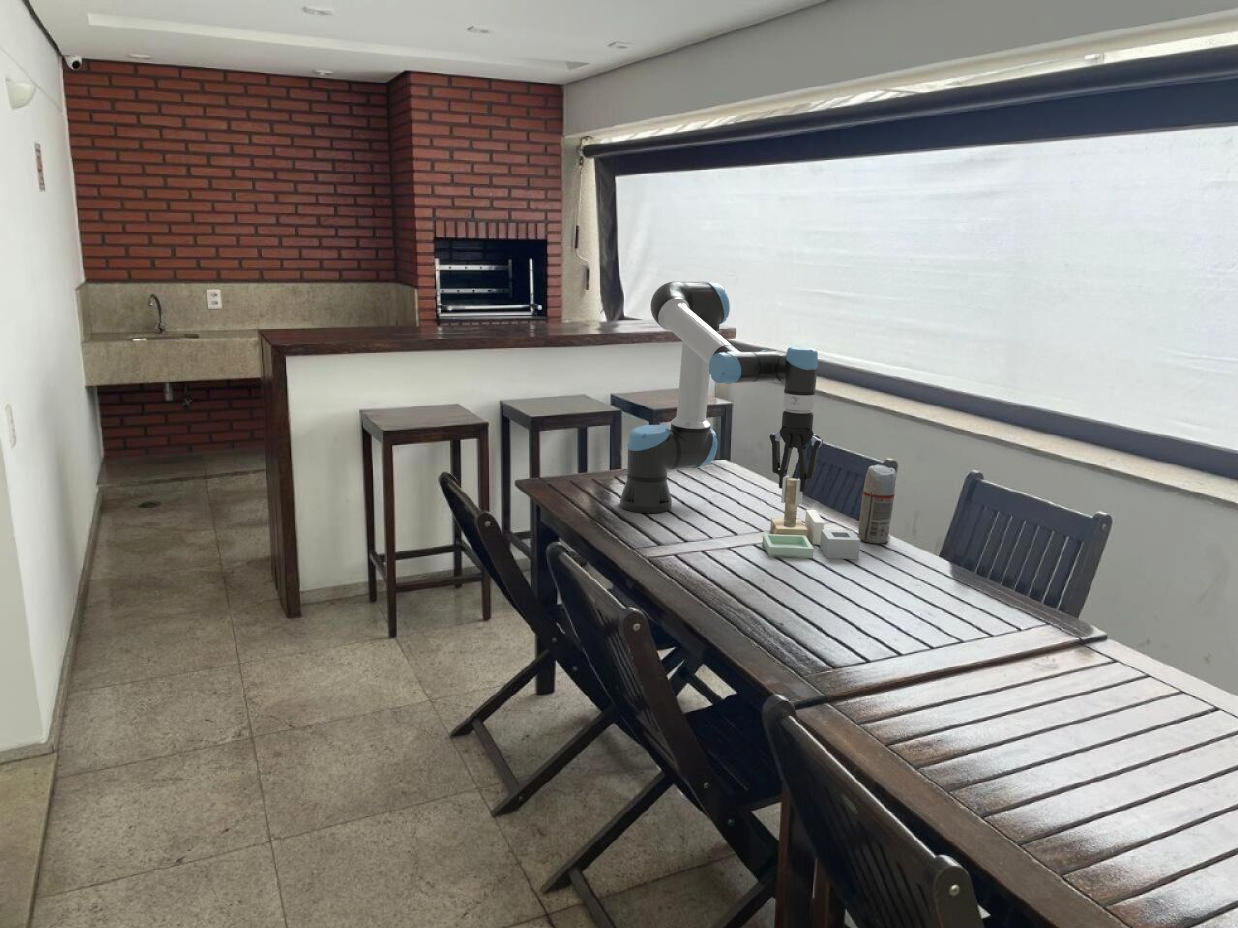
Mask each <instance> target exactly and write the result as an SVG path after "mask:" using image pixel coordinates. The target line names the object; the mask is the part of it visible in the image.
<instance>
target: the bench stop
mask: <svg viewBox="0 0 1238 928" xmlns="http://www.w3.org/2000/svg"><path fill="white" fill-rule="evenodd" d="M804 525H805V527H806V528H807V530H808V533H807V538H808V540H809V542H810V543H811V545H818V546H820V543H821V531H822V530H825V521H824V520H823V519H822V517H821V515H819V512H817V510H816V509H805V519H804Z"/></svg>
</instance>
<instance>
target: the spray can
mask: <svg viewBox="0 0 1238 928" xmlns="http://www.w3.org/2000/svg"><path fill="white" fill-rule="evenodd" d="M896 481H897V473H896V470H895V469H894V468H893V467H887V466H886V465H883V464H879V463H878V464H874V465H870V466H869V467H868V469H867V471H866V475H865V479H864V485H863V490H862V496H861V503H860V512H859V519H858V533H857V537H858V538H859V539H860V541H862V542H865V543H871V544H885V543H887V542H888V541H887V540H888V538H889V533H890V526H891V520H892V513H893V507H894V501H895V500H894V499H895V495H896V494H895V492H896Z"/></svg>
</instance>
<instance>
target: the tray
mask: <svg viewBox="0 0 1238 928" xmlns="http://www.w3.org/2000/svg"><path fill="white" fill-rule="evenodd" d="M762 545H763V547H764V549H765V552H766V553H767V556H768V557H770V558H792V559H793V558H794V559H795V558H796V559H814V552H815V551H814V550H815V549H814V547H813V544H812V543H811V541H810V539H809V538H808V536H807V537H806V536H805V535H777V534H771V533H763V534H762Z"/></svg>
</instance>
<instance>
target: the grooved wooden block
mask: <svg viewBox="0 0 1238 928" xmlns="http://www.w3.org/2000/svg"><path fill="white" fill-rule="evenodd" d="M769 524H770V527H769V532H770V534H777V535H805V536H806V537H807V538H808V536H807V533H808V530H807V528H806V527H805V523H804V522H803V521H802V519H801V518H796V527H794V528H789V527H785V526H784V517H783V518H782V517H781V518H779V517H778V518H777V517H770V523H769Z"/></svg>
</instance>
